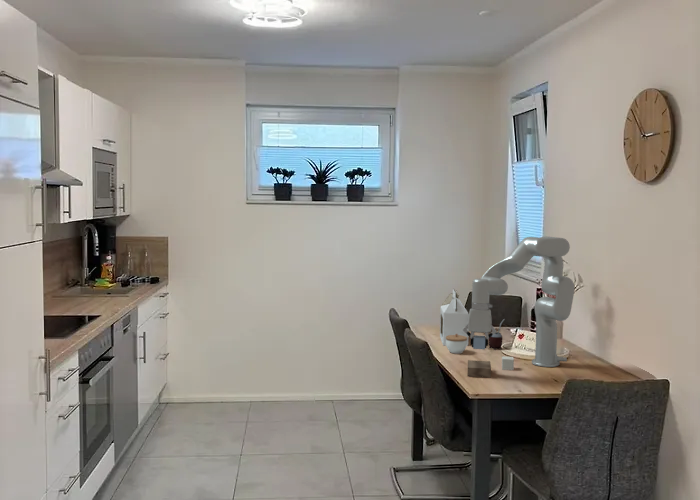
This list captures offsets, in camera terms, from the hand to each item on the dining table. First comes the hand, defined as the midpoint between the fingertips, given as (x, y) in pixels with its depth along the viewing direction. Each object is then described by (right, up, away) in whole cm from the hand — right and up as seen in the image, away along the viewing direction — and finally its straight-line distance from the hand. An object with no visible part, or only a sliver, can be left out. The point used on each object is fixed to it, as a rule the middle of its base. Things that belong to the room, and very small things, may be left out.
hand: (479, 346), depth 292 cm
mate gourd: (+18, -8, +49) cm, 53 cm away
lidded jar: (-4, -9, +40) cm, 41 cm away
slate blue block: (0, -1, 0) cm, 1 cm away
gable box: (-1, -7, +65) cm, 66 cm away
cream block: (+15, -12, +9) cm, 21 cm away
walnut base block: (0, -12, +1) cm, 12 cm away
